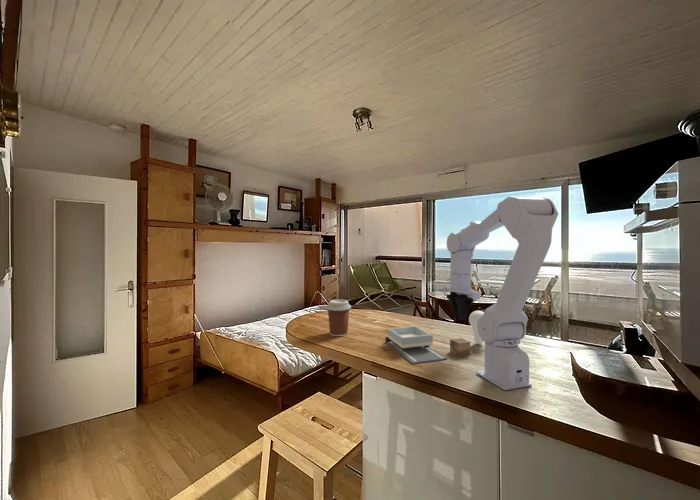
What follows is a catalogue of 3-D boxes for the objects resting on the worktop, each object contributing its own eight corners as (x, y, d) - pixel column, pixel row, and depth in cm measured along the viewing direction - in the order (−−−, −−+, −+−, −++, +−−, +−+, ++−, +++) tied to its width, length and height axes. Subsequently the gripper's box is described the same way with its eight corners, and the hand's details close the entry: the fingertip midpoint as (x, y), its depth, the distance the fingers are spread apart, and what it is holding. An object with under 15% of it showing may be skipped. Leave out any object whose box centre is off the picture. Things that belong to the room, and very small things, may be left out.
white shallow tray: (432, 348, 92) (432, 335, 92) (402, 352, 89) (402, 338, 89) (415, 338, 102) (415, 326, 102) (388, 341, 99) (388, 328, 99)
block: (469, 355, 89) (470, 342, 89) (458, 356, 88) (458, 343, 88) (461, 350, 93) (461, 337, 93) (449, 352, 92) (450, 339, 92)
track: (447, 359, 86) (447, 352, 86) (412, 364, 82) (412, 357, 82) (414, 339, 103) (414, 333, 103) (385, 342, 100) (385, 336, 100)
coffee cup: (322, 336, 106) (322, 302, 106) (331, 329, 115) (331, 298, 115) (346, 339, 104) (346, 304, 103) (354, 331, 113) (354, 299, 112)
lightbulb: (491, 348, 95) (491, 313, 94) (470, 346, 96) (470, 312, 96) (486, 341, 101) (486, 309, 100) (467, 340, 102) (467, 308, 102)
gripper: (435, 271, 96) (434, 314, 96) (465, 276, 82) (464, 326, 82) (454, 271, 98) (453, 312, 98) (486, 275, 84) (485, 324, 84)
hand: (460, 318), depth 90 cm, fingers closed
